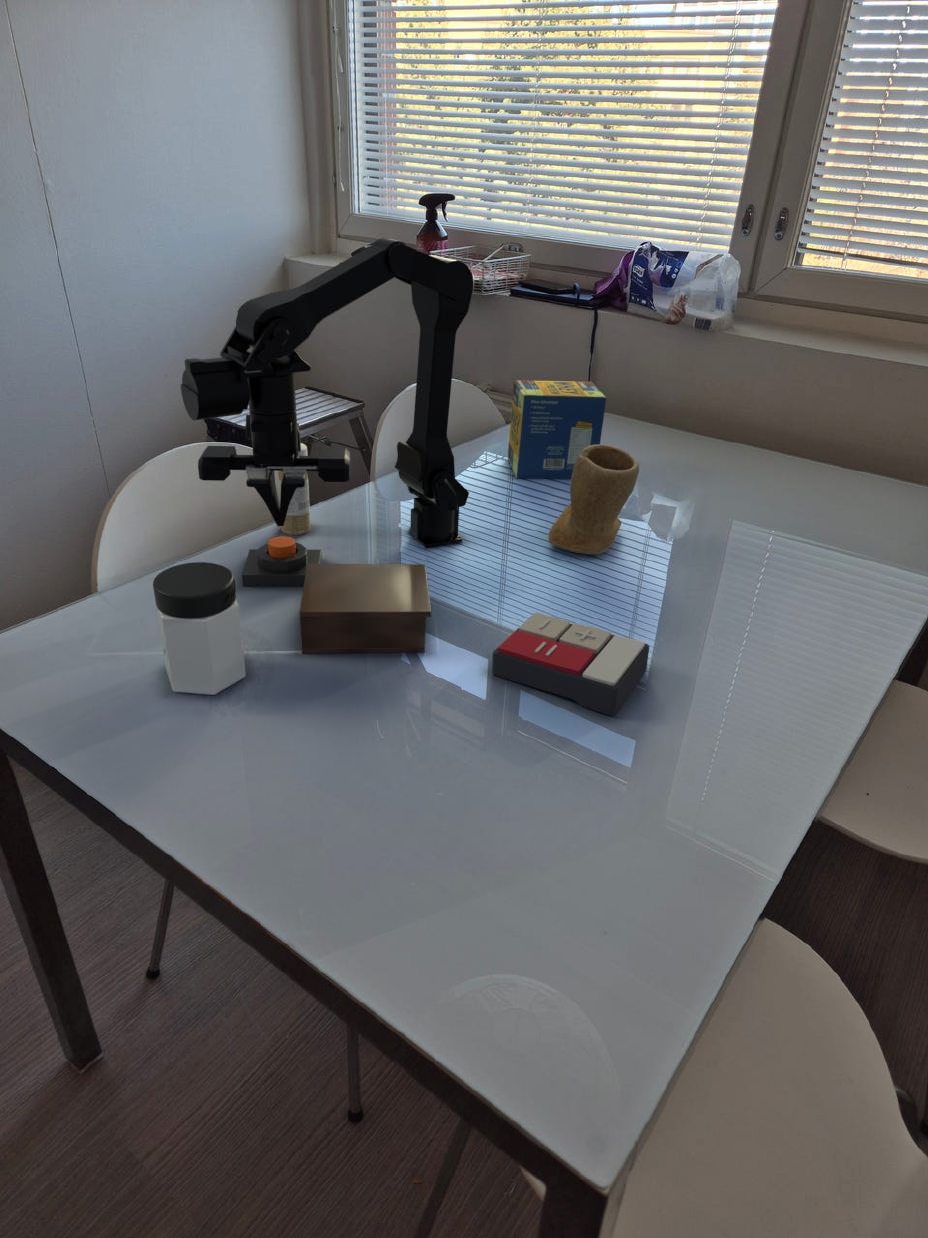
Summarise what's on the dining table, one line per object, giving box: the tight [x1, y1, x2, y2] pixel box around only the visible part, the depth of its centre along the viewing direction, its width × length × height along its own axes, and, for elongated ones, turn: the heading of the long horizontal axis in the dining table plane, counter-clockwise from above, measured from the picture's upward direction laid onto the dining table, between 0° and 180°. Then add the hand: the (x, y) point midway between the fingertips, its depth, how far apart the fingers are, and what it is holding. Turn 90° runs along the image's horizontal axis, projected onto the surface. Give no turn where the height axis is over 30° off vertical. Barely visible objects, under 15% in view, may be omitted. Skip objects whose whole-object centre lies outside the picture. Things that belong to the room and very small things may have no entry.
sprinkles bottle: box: [277, 442, 312, 536], centre depth 122 cm, size 5×5×13 cm
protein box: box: [507, 379, 607, 480], centre depth 152 cm, size 10×15×16 cm
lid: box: [299, 563, 432, 618], centre depth 99 cm, size 15×12×1 cm
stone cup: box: [547, 443, 640, 555], centre depth 124 cm, size 15×12×15 cm
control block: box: [241, 542, 323, 588], centre depth 112 cm, size 10×8×4 cm
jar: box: [152, 561, 247, 696], centre depth 88 cm, size 9×8×12 cm
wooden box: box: [299, 616, 427, 655], centre depth 101 cm, size 14×12×5 cm
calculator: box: [491, 612, 650, 717], centre depth 94 cm, size 11×4×15 cm
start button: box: [267, 535, 296, 558], centre depth 111 cm, size 4×4×2 cm
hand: (280, 525), depth 109 cm, fingers closed
